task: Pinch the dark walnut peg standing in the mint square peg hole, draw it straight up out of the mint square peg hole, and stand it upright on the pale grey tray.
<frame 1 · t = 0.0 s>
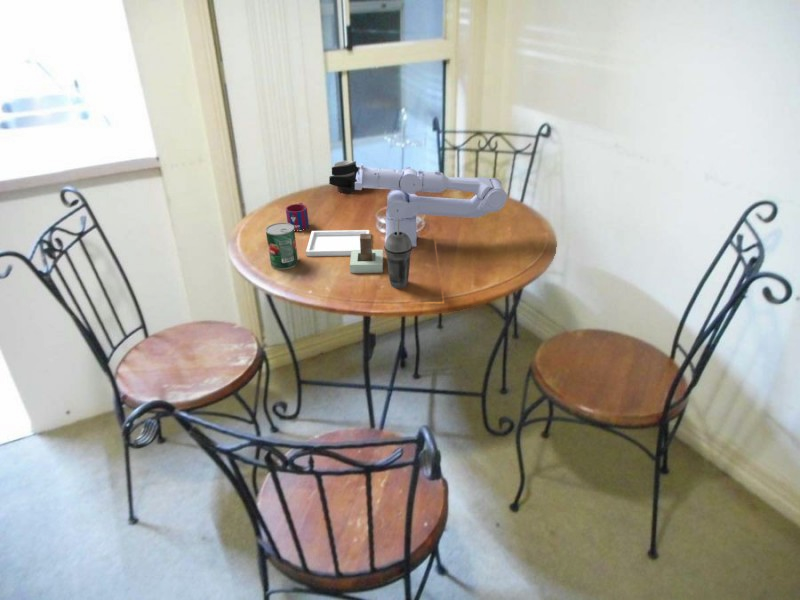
hand: (330, 175, 163), 22 cm above the table, tool horizontal, fingers open, 7 cm apart
beverage cup: (399, 286, 152), on the table
coffee mug: (343, 192, 211), on the table
canned tomato: (284, 263, 164), on the table
walnut peg: (367, 264, 161), resting on mint square peg hole
mint square peg hole: (367, 266, 161), on the table
cup: (300, 225, 186), on the table
tray: (339, 246, 172), on the table
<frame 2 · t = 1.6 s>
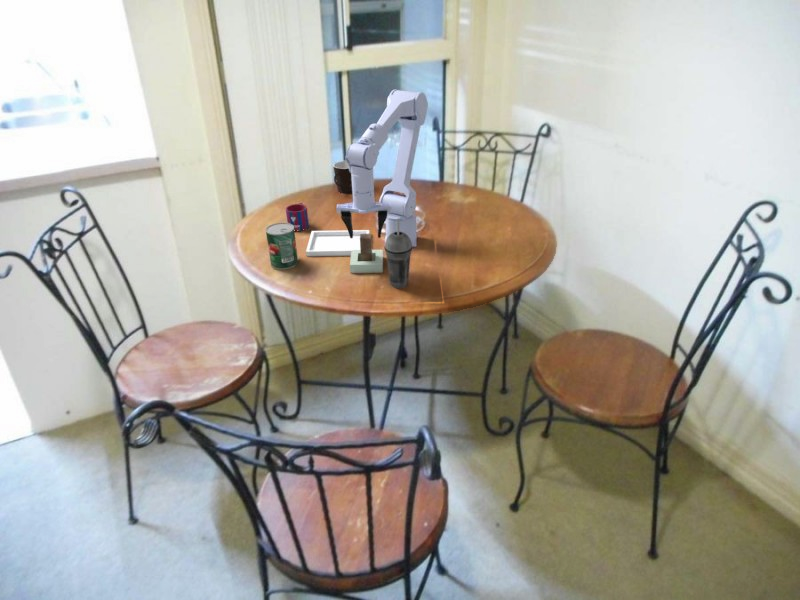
hand: (365, 236, 156), 9 cm above the table, tool pointing down, fingers open, 7 cm apart
nothing on the table moved.
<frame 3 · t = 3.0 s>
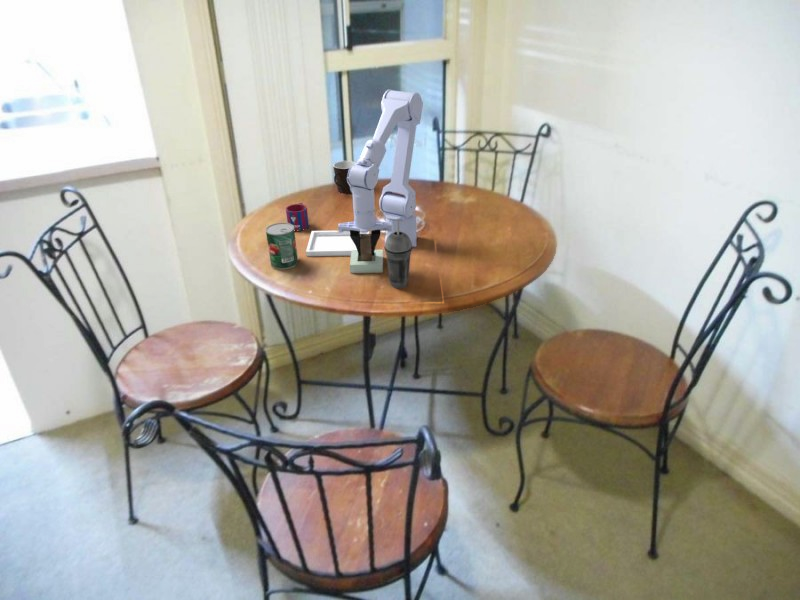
hand: (366, 254, 159), 4 cm above the table, tool pointing down, fingers closed on walnut peg, 3 cm apart
walnut peg: (367, 264, 161), resting on mint square peg hole, touching gripper
everything else where it was.
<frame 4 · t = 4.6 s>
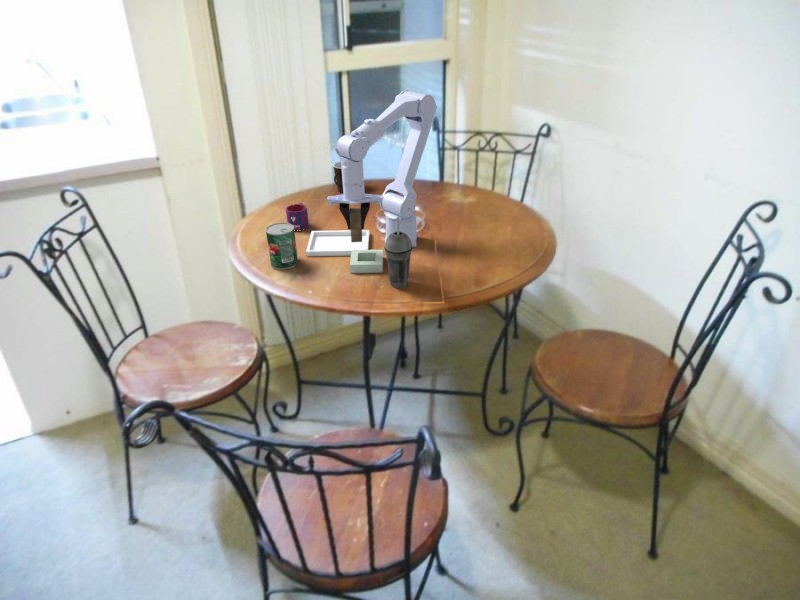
hand: (356, 227, 159), 10 cm above the table, tool pointing down, fingers closed on walnut peg, 3 cm apart
walnut peg: (356, 239, 161), point 7 cm above the table, touching gripper
everything else where it was.
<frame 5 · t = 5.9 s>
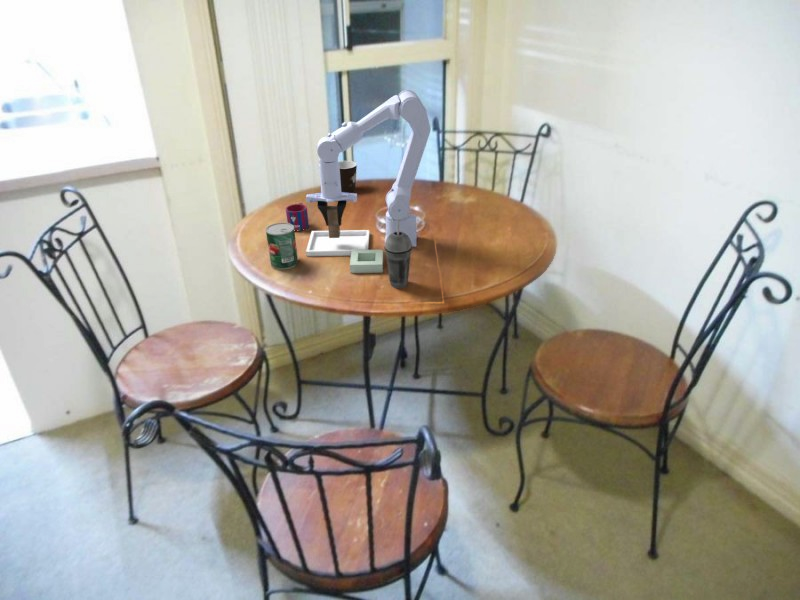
hand: (333, 224, 169), 7 cm above the table, tool pointing down, fingers closed on walnut peg, 3 cm apart
walnut peg: (334, 235, 170), point 4 cm above the table, touching gripper
everything else where it was.
when the fingers open (5 cm above the table, at t = 6.6 s): walnut peg stays where it is, resting on tray.
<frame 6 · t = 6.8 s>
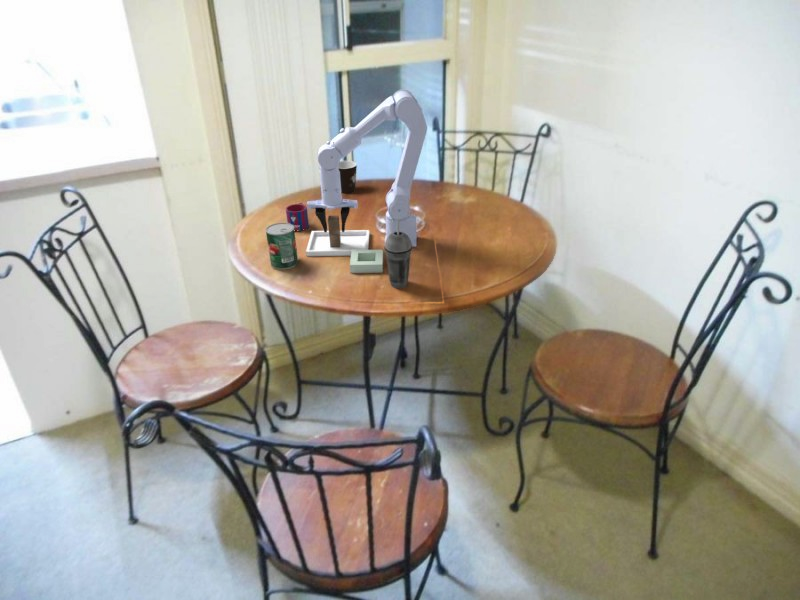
hand: (334, 230, 170), 5 cm above the table, tool pointing down, fingers open, 5 cm apart
walnut peg: (335, 244, 172), point 1 cm above the table, touching tray
everything else where it was.
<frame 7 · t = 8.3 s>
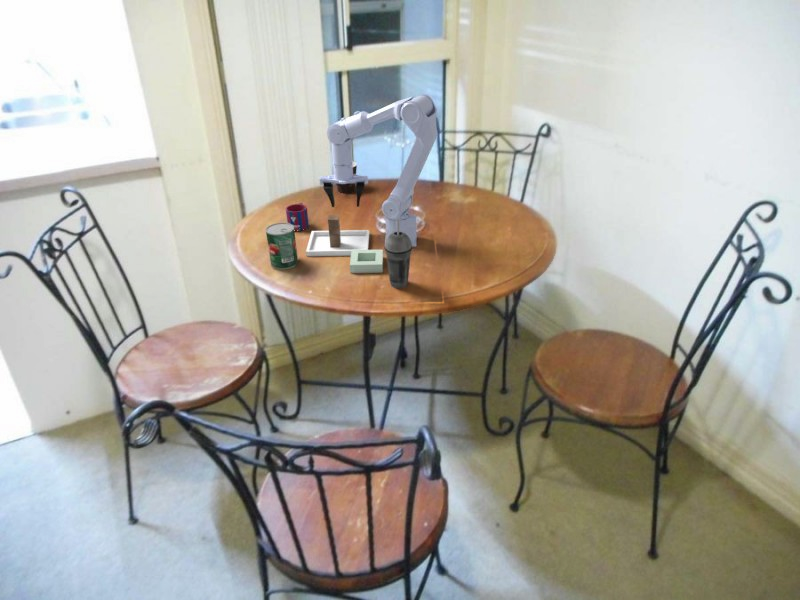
hand: (345, 205, 175), 9 cm above the table, tool pointing down, fingers open, 7 cm apart
nothing on the table moved.
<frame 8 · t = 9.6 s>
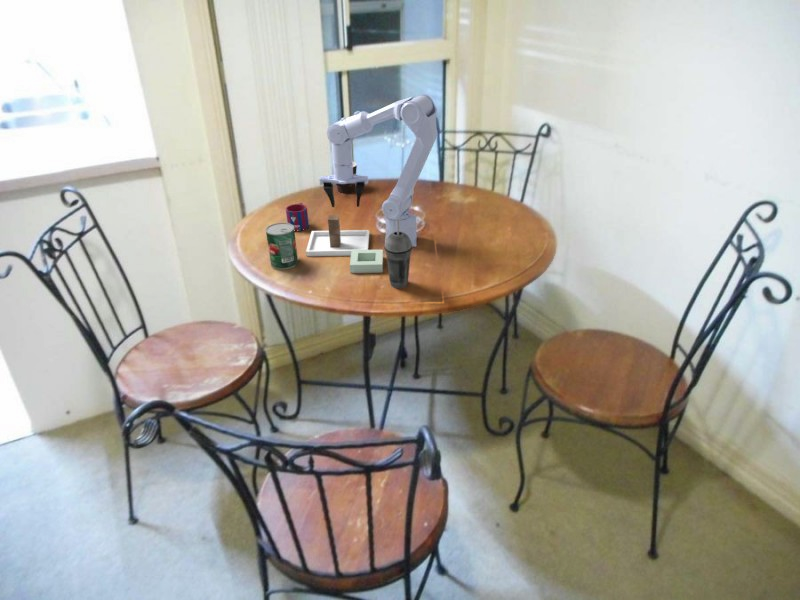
hand: (345, 205, 175), 9 cm above the table, tool pointing down, fingers open, 7 cm apart
nothing on the table moved.
at the end: walnut peg inside the target area on the tray (1.0 cm from its centre), point 0.6 cm above the tray's base; walnut peg tilted 0°; the gripper is holding nothing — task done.
